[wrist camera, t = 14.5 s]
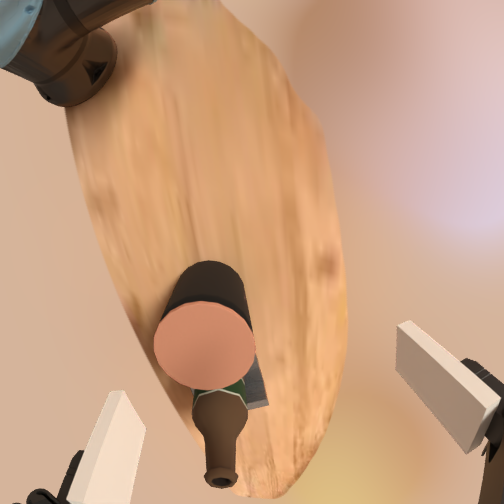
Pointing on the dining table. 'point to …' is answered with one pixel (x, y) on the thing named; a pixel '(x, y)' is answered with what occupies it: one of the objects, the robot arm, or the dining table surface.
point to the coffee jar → (206, 329)
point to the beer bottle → (220, 429)
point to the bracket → (253, 387)
